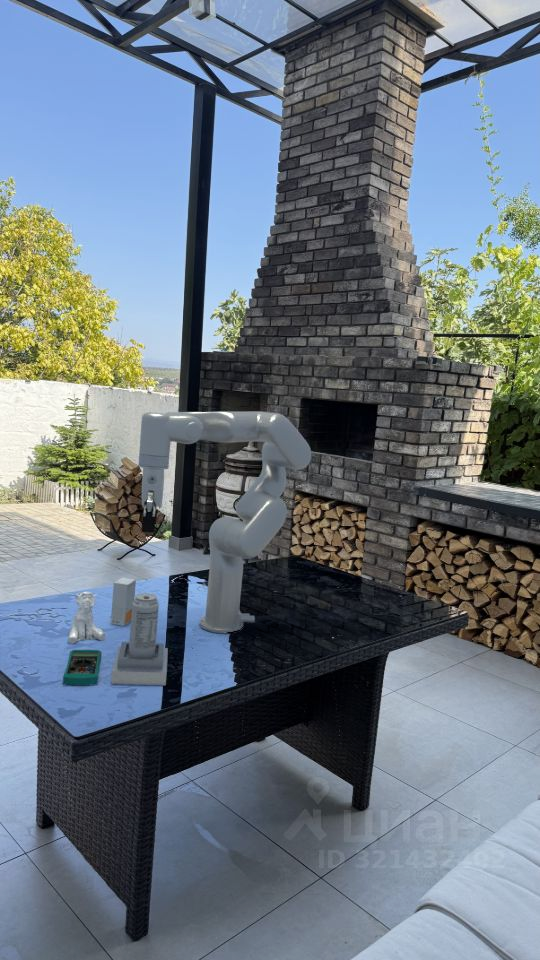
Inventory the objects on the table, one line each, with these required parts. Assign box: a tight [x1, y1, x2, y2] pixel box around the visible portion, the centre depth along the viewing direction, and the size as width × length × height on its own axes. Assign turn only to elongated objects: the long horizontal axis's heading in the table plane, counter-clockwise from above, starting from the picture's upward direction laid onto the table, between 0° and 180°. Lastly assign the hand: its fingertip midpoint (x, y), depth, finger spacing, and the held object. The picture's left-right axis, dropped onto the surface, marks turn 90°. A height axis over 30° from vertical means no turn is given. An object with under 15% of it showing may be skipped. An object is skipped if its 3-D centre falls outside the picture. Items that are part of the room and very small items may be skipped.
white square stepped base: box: [110, 641, 169, 686], centre depth 147 cm, size 12×14×5 cm
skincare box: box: [110, 577, 137, 627], centre depth 177 cm, size 6×4×12 cm
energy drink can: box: [129, 592, 160, 658], centre depth 146 cm, size 6×6×15 cm
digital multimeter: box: [62, 649, 103, 686], centre depth 145 cm, size 7×15×3 cm, turn 11°
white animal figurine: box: [67, 591, 106, 645], centre depth 164 cm, size 10×9×12 cm
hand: (149, 528), depth 161 cm, fingers open, 9 cm apart
